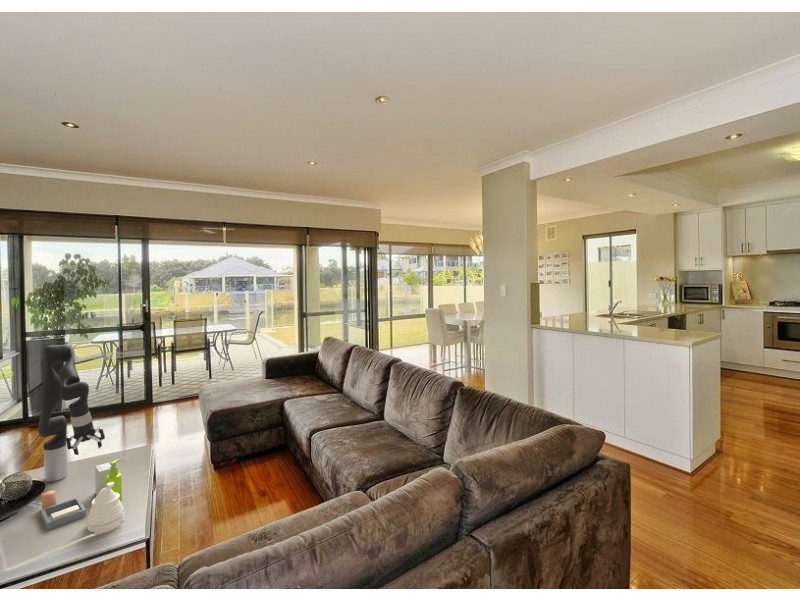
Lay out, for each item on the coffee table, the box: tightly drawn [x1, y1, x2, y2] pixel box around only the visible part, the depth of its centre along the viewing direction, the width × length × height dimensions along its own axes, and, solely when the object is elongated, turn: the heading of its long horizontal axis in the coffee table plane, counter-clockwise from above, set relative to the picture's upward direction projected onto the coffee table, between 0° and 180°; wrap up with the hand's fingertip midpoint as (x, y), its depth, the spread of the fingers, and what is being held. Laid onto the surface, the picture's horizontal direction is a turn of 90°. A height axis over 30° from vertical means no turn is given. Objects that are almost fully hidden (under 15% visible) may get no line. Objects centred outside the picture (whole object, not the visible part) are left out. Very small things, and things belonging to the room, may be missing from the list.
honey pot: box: [86, 482, 125, 535], centre depth 169 cm, size 13×13×18 cm
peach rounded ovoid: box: [40, 489, 57, 509], centre depth 180 cm, size 5×5×8 cm
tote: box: [40, 496, 87, 531], centre depth 174 cm, size 15×13×4 cm
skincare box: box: [94, 462, 111, 496], centre depth 192 cm, size 8×6×15 cm
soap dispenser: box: [106, 458, 124, 502], centre depth 187 cm, size 6×7×20 cm
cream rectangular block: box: [51, 505, 79, 521], centre depth 171 cm, size 4×9×4 cm, turn 141°
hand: (88, 450), depth 190 cm, fingers open, 8 cm apart
